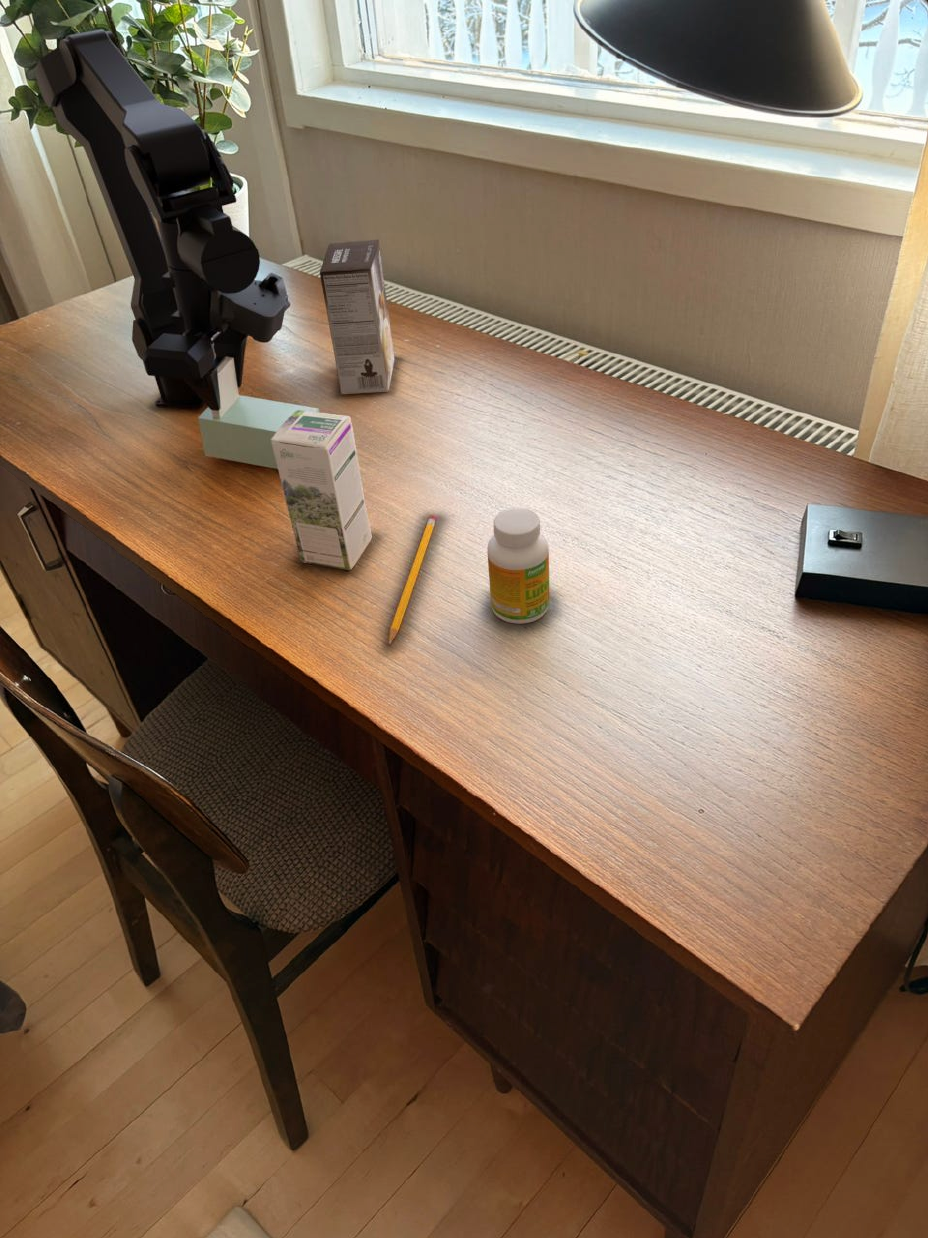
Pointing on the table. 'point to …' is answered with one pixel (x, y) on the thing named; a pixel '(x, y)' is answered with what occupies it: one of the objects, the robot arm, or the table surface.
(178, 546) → the table surface
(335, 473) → the syrup box
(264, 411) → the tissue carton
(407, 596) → the pencil
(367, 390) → the coffee box
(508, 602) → the supplement bottle
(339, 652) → the table surface
